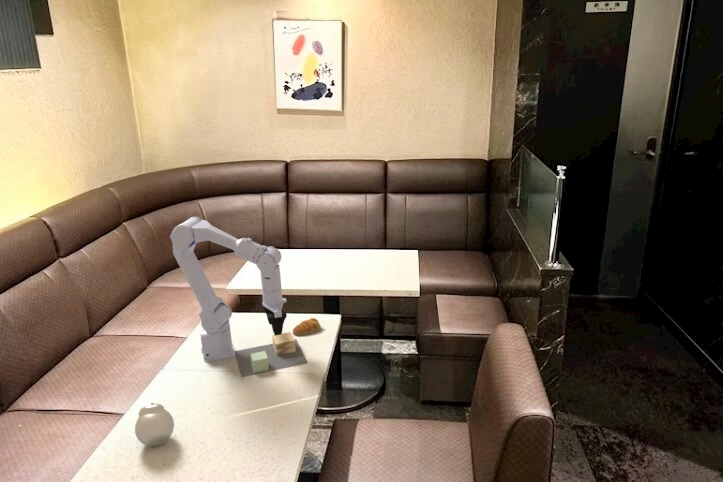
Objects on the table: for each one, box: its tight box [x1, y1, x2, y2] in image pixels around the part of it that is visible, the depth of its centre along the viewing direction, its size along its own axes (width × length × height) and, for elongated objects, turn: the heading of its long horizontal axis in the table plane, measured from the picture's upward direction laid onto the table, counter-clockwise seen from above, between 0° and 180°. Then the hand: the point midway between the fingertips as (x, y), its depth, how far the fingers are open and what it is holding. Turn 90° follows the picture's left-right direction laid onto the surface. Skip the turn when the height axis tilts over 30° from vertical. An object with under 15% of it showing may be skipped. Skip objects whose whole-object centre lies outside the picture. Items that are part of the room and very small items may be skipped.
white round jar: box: [134, 402, 175, 447], centre depth 130 cm, size 9×10×10 cm
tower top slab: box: [271, 331, 295, 350], centre depth 170 cm, size 6×6×2 cm
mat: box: [234, 338, 309, 378], centre depth 167 cm, size 20×16×1 cm
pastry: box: [292, 317, 322, 337], centre depth 182 cm, size 9×7×4 cm
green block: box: [250, 351, 269, 373], centre depth 160 cm, size 4×4×4 cm
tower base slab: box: [272, 342, 296, 356], centre depth 171 cm, size 6×6×2 cm
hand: (275, 328), depth 165 cm, fingers open, 7 cm apart
